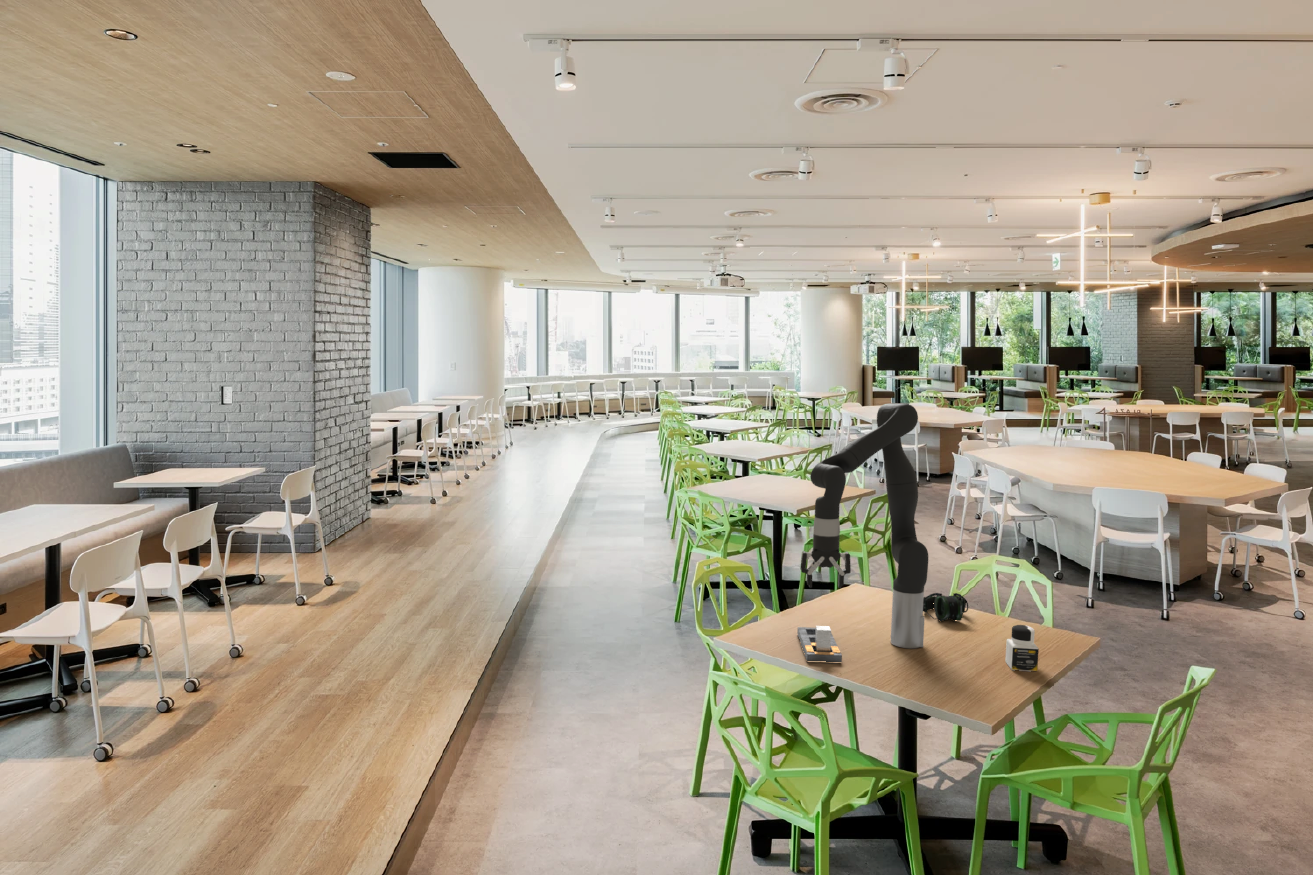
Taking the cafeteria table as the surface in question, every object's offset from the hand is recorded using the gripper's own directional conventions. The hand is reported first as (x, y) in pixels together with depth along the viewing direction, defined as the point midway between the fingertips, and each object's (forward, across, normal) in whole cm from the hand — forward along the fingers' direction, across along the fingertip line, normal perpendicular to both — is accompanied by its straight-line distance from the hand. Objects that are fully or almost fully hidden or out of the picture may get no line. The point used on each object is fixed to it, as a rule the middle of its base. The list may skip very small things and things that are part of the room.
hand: (824, 587), depth 250 cm
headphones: (+22, -48, -46) cm, 70 cm away
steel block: (+21, 0, 0) cm, 21 cm away
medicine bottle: (+22, -57, +2) cm, 61 cm away
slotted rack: (+21, 0, -8) cm, 23 cm away
